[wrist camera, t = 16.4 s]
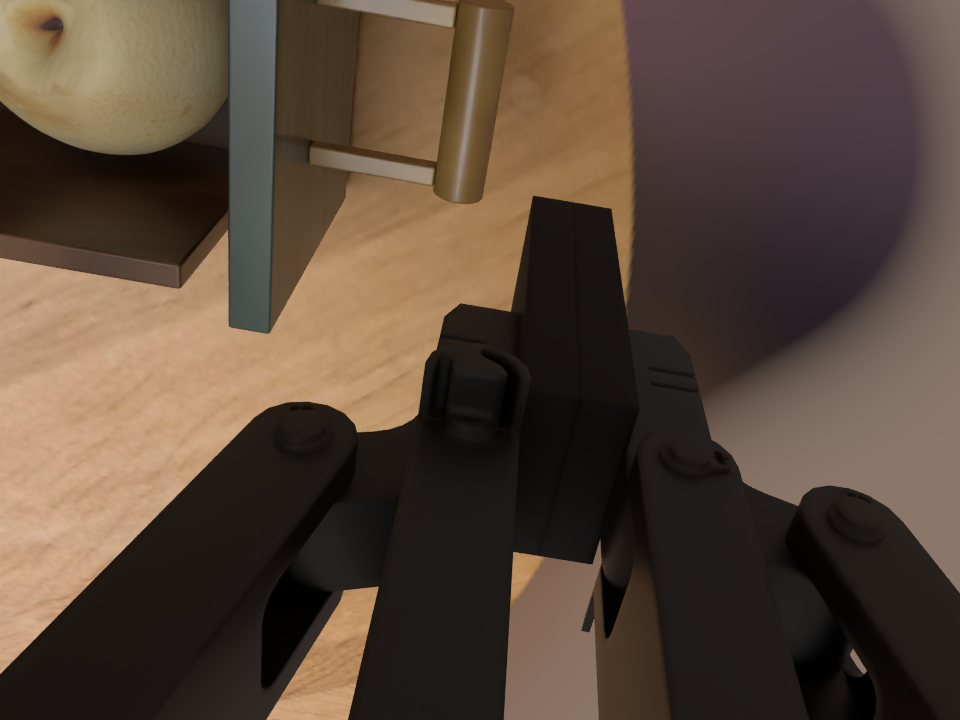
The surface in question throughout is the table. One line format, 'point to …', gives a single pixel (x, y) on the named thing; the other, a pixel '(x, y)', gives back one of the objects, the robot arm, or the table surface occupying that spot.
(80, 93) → the apple
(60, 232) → the drawer
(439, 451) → the robot arm
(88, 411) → the table surface
